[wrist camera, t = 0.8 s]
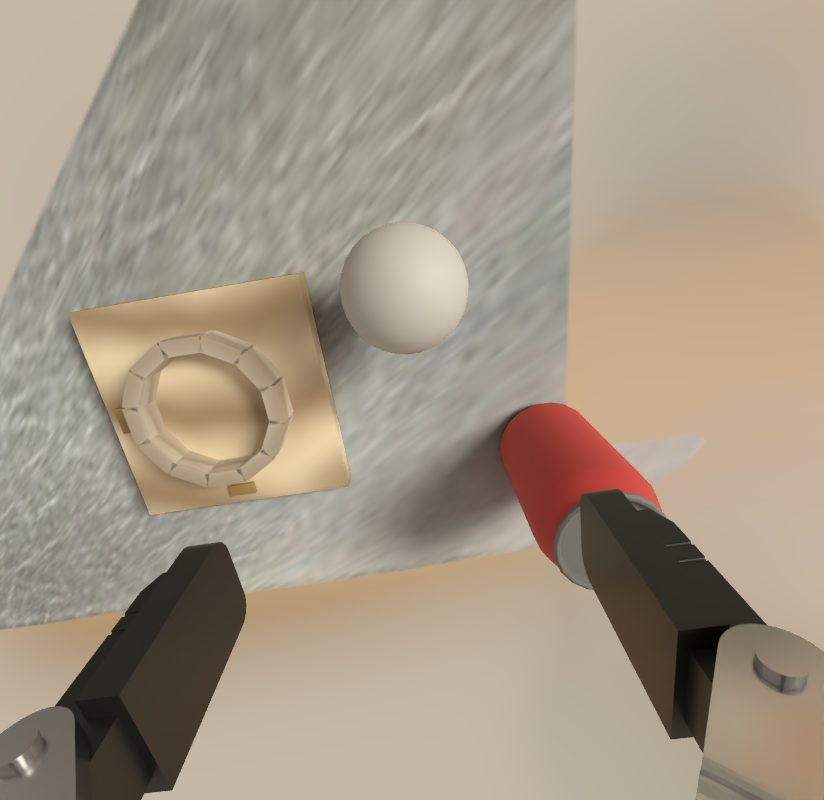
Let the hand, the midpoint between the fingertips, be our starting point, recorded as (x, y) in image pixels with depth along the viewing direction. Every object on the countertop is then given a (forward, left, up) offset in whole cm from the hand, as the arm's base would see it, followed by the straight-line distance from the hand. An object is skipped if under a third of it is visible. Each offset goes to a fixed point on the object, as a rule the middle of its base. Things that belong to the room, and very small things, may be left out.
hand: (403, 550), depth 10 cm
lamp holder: (+2, -13, -22) cm, 25 cm away
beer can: (+9, +9, -22) cm, 25 cm away
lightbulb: (-4, +1, -22) cm, 22 cm away
